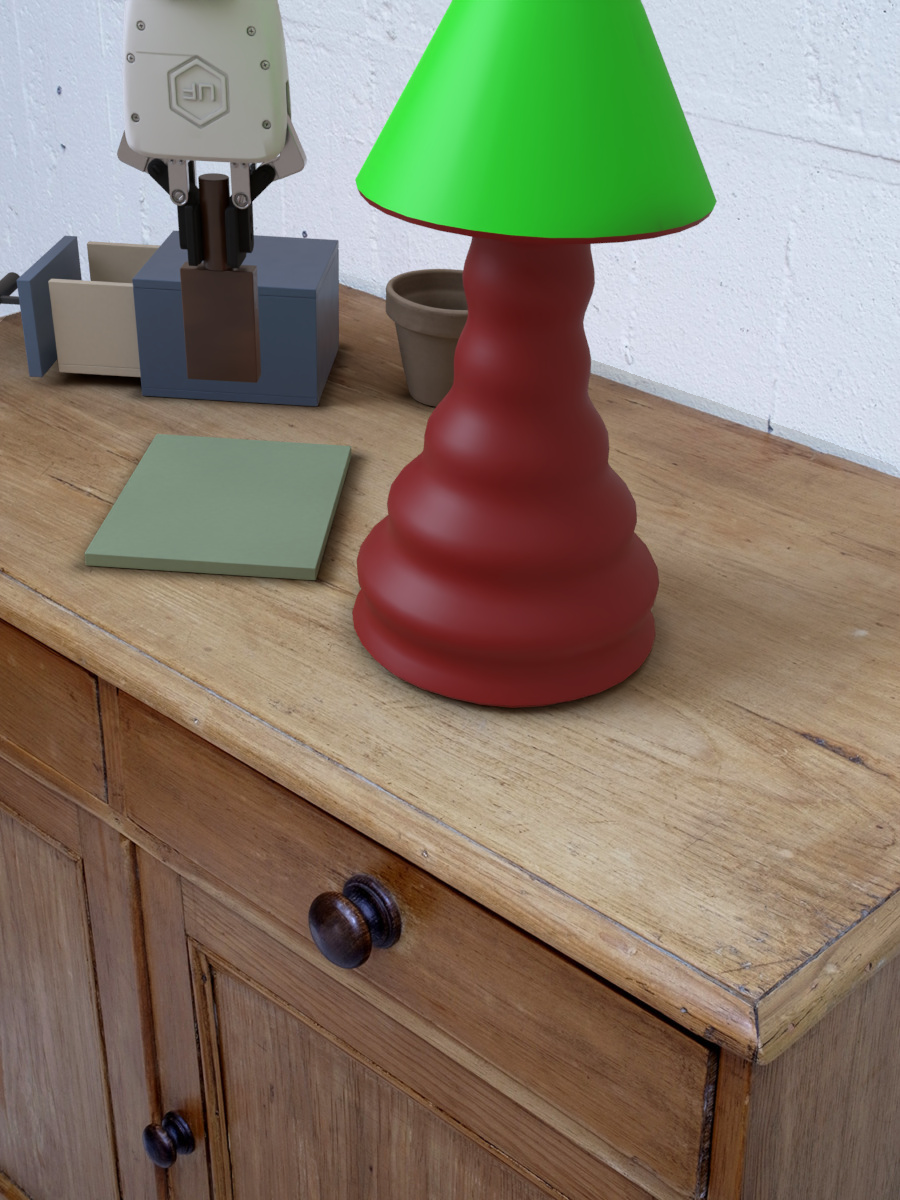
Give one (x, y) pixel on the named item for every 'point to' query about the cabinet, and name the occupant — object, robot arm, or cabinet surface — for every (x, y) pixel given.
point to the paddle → (219, 299)
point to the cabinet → (286, 323)
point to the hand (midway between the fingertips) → (218, 259)
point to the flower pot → (428, 328)
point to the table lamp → (524, 350)
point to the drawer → (80, 308)
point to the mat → (225, 508)
